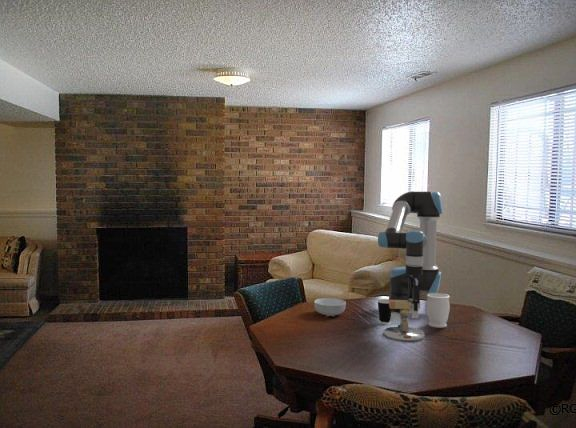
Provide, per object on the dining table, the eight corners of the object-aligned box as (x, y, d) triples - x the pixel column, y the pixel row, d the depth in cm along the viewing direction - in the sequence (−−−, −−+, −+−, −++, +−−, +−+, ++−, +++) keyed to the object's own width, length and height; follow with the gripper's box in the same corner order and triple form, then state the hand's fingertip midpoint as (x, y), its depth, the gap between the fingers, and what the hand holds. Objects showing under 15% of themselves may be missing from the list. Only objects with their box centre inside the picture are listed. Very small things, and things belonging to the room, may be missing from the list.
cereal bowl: (347, 319, 247) (347, 305, 246) (314, 319, 247) (314, 305, 246) (343, 310, 263) (344, 297, 263) (313, 310, 264) (313, 297, 263)
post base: (381, 329, 230) (381, 311, 229) (420, 330, 228) (420, 312, 228) (386, 341, 212) (386, 322, 211) (428, 342, 210) (428, 323, 210)
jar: (446, 322, 240) (447, 293, 239) (451, 329, 230) (452, 297, 229) (424, 322, 241) (425, 292, 240) (428, 328, 231) (429, 297, 230)
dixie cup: (396, 323, 239) (396, 301, 238) (383, 325, 235) (383, 303, 234) (386, 319, 246) (386, 298, 245) (373, 321, 242) (373, 299, 241)
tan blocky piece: (388, 325, 224) (388, 298, 223) (417, 326, 223) (417, 299, 222) (390, 330, 217) (390, 302, 216) (420, 330, 216) (420, 302, 215)
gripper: (402, 261, 228) (401, 309, 230) (409, 268, 208) (408, 321, 209) (418, 261, 228) (417, 309, 229) (427, 269, 207) (426, 321, 209)
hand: (413, 315), depth 219 cm, fingers open, 8 cm apart
